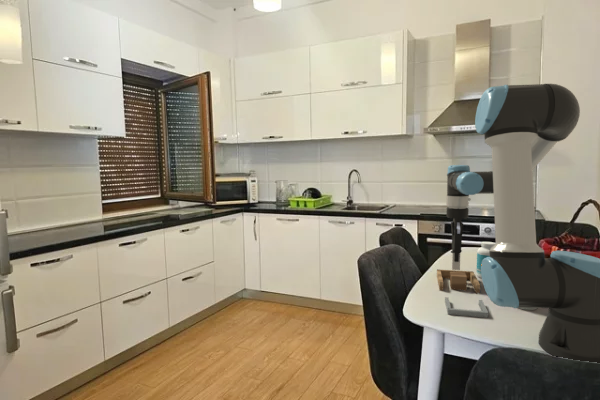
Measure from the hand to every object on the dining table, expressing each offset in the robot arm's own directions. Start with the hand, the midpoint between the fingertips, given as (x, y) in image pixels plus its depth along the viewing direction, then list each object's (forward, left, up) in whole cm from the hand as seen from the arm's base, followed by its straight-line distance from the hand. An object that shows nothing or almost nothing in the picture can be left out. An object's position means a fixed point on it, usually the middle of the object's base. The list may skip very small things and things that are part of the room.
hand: (455, 269), depth 146 cm
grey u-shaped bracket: (-28, 0, -5) cm, 29 cm away
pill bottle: (+8, -12, -5) cm, 15 cm away
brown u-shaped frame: (-4, 0, -5) cm, 6 cm away
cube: (-8, 0, -5) cm, 9 cm away
